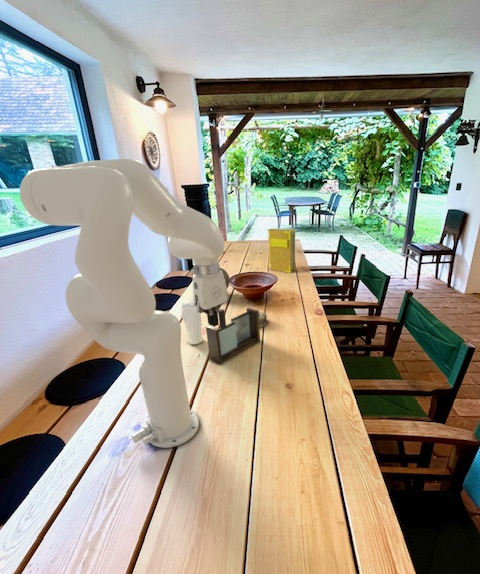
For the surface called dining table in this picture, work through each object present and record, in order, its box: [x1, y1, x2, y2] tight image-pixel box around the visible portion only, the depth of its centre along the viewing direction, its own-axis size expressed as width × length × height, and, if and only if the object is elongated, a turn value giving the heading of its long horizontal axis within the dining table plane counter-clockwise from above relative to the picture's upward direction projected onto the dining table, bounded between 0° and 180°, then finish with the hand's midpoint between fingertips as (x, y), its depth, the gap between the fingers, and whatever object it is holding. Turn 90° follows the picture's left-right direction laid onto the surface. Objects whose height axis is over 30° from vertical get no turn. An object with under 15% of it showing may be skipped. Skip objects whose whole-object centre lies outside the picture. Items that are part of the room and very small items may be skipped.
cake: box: [259, 311, 268, 328], centre depth 134 cm, size 10×10×5 cm
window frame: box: [205, 307, 261, 365], centre depth 112 cm, size 20×5×12 cm, turn 139°
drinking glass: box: [180, 301, 203, 345], centre depth 119 cm, size 7×7×15 cm
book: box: [267, 228, 296, 274], centre depth 202 cm, size 17×7×25 cm, turn 58°
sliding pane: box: [218, 308, 237, 356], centre depth 107 cm, size 8×2×16 cm, turn 139°
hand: (213, 324), depth 102 cm, fingers closed
